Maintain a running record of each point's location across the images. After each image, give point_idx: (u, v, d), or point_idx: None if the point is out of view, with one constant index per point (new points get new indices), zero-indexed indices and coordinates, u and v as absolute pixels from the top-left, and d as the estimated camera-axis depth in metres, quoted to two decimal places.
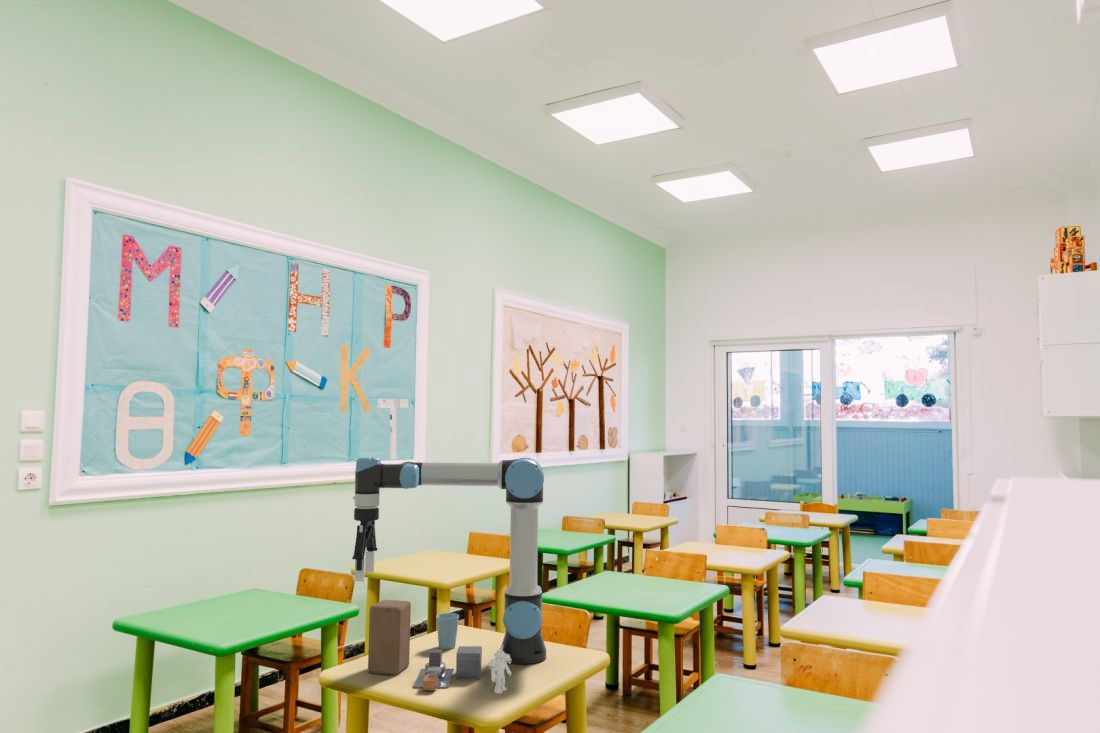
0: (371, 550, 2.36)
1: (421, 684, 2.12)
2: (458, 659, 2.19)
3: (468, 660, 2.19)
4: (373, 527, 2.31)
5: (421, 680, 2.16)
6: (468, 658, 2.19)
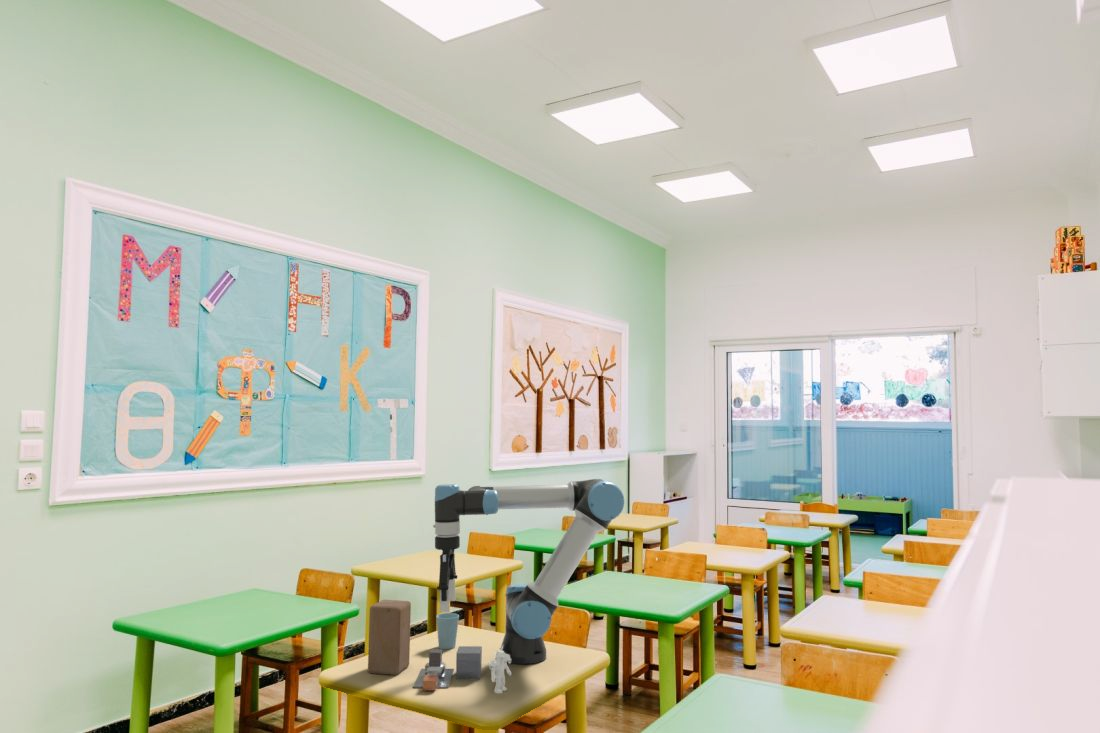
0: (451, 578, 2.32)
1: (421, 684, 2.12)
2: (458, 659, 2.19)
3: (468, 660, 2.19)
4: (454, 555, 2.27)
5: (421, 680, 2.16)
6: (468, 658, 2.19)
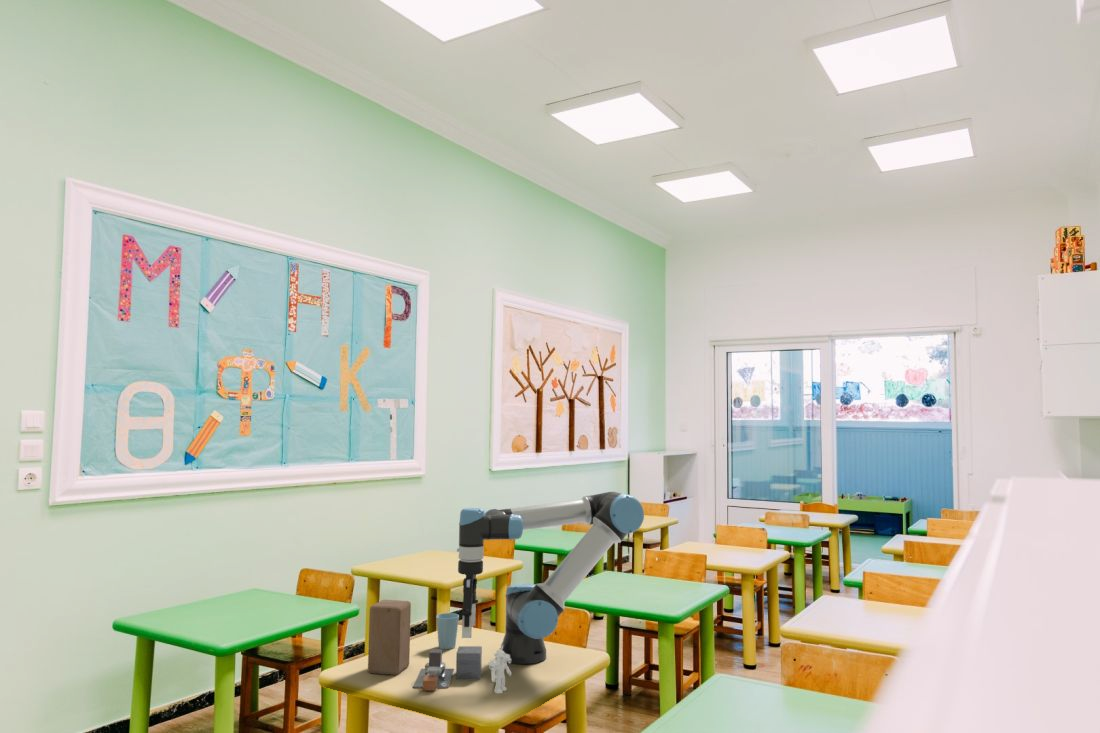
0: (472, 602, 2.30)
1: (421, 684, 2.12)
2: (458, 659, 2.19)
3: (468, 660, 2.19)
4: (476, 580, 2.26)
5: (421, 680, 2.16)
6: (468, 658, 2.19)
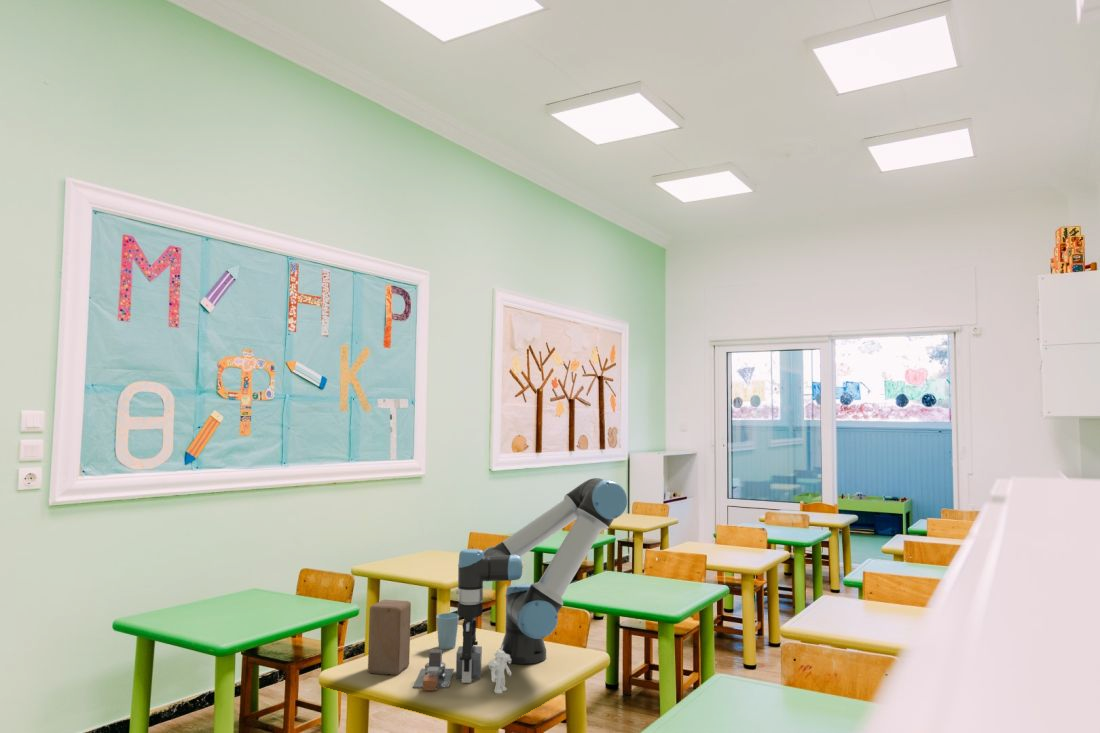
0: (472, 644, 2.29)
1: (421, 684, 2.12)
2: (458, 659, 2.19)
3: None
4: (476, 622, 2.25)
5: (421, 680, 2.16)
6: None
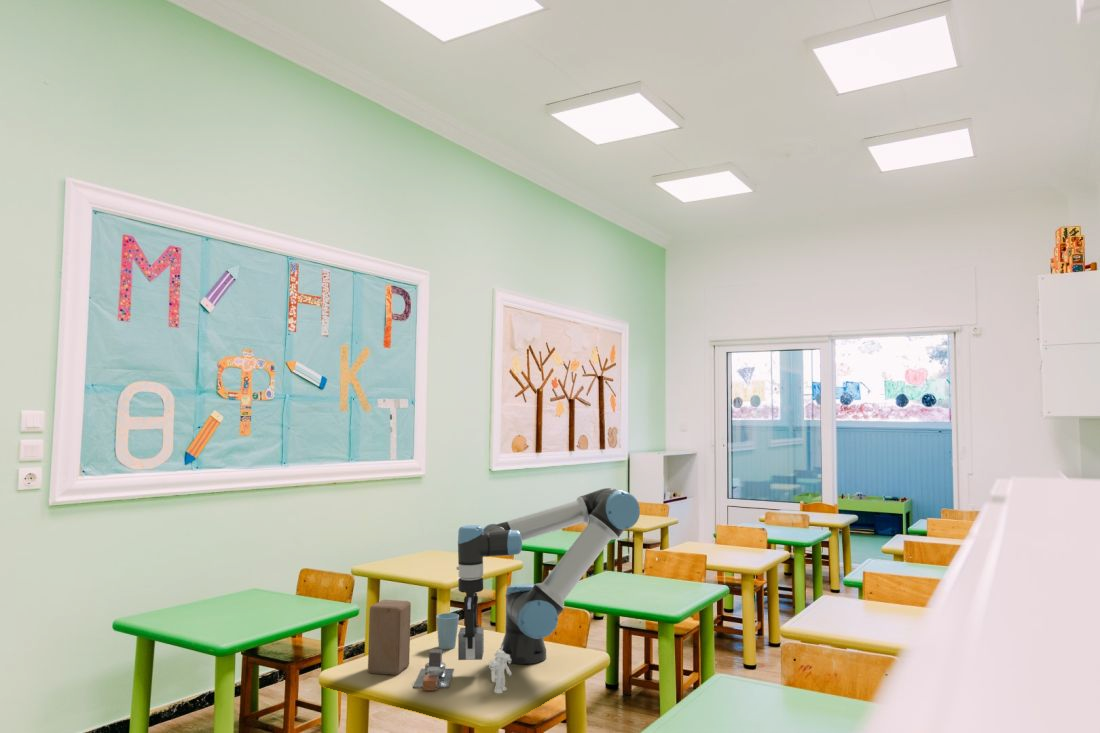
0: (473, 627, 2.27)
1: (421, 684, 2.12)
2: (460, 640, 2.19)
3: None
4: (477, 598, 2.25)
5: (421, 680, 2.16)
6: None
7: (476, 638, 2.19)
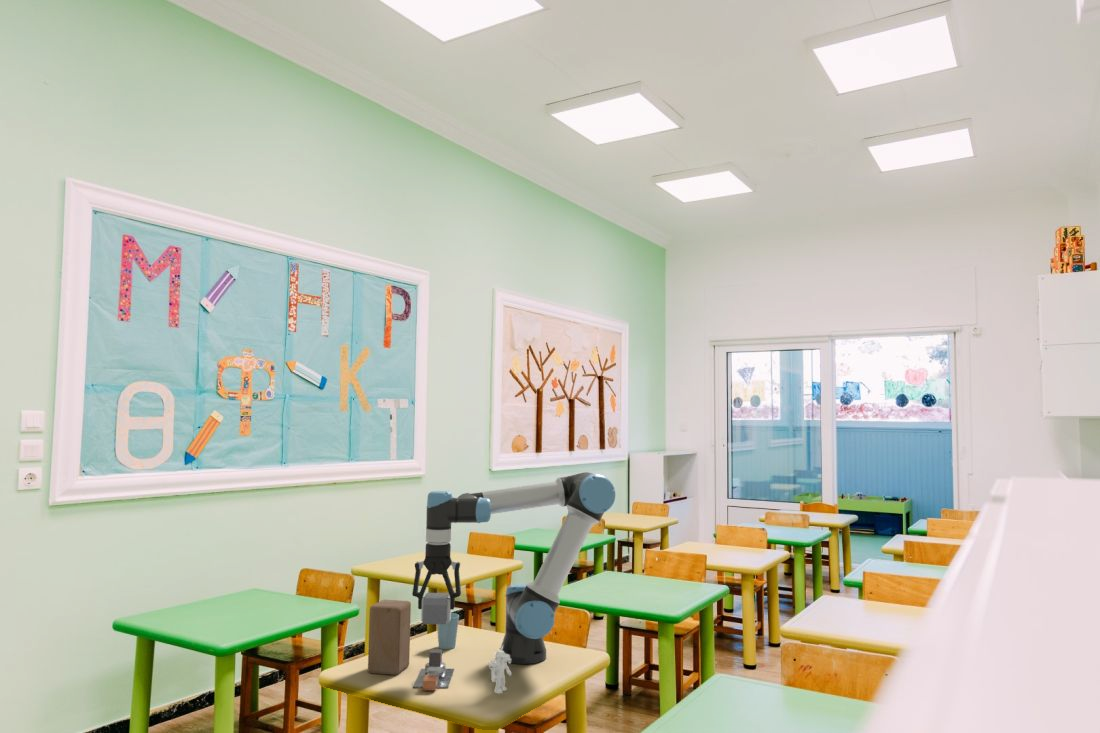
0: (450, 596, 2.22)
1: (421, 684, 2.12)
2: None
3: None
4: (441, 565, 2.21)
5: (421, 680, 2.16)
6: None
7: None
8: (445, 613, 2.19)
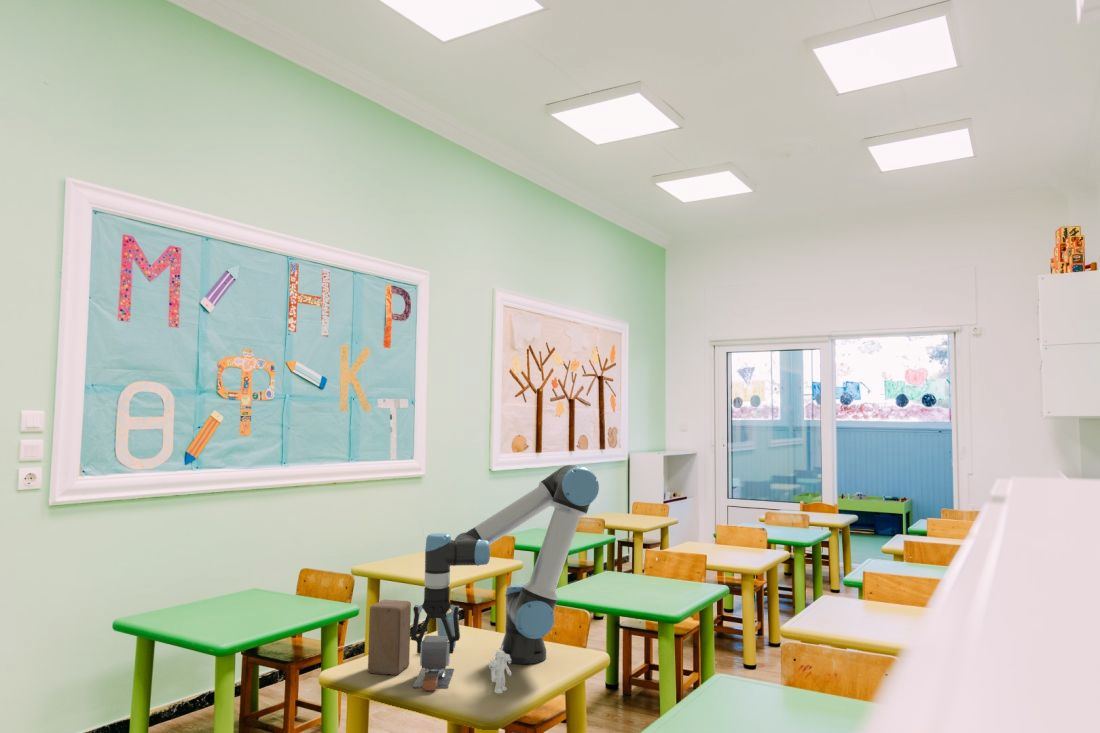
0: (449, 640, 2.21)
1: (421, 684, 2.12)
2: None
3: None
4: (440, 609, 2.20)
5: (421, 680, 2.16)
6: None
7: None
8: (444, 657, 2.18)
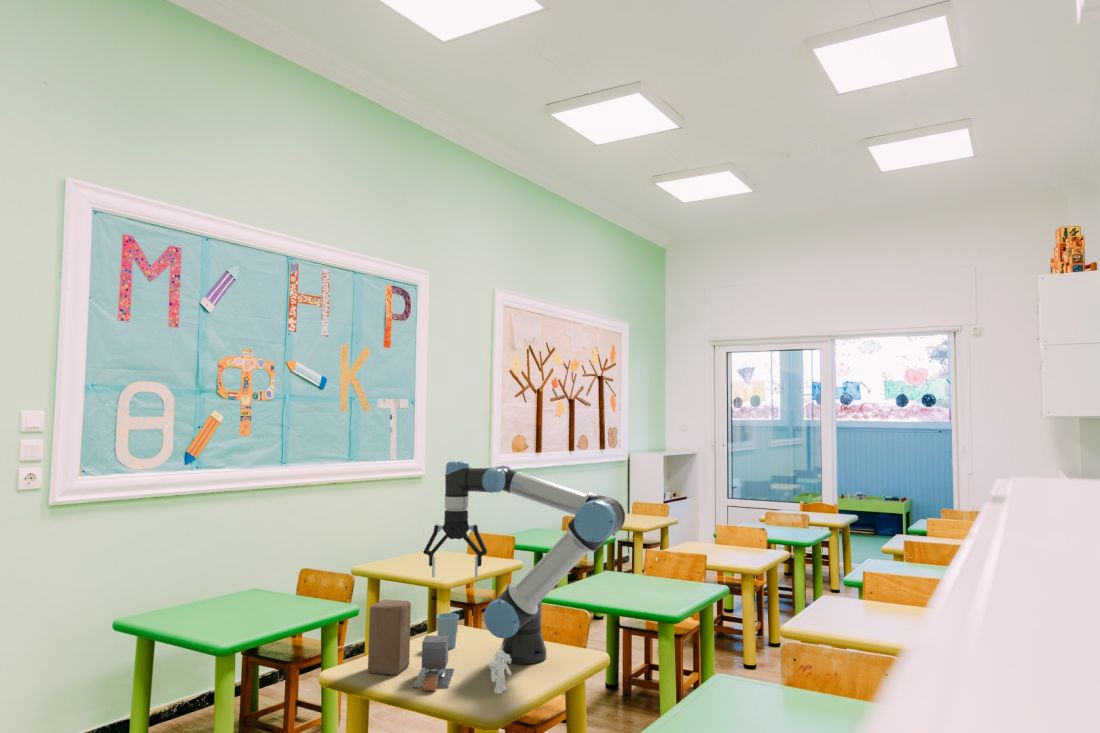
0: (477, 555, 2.36)
1: (421, 684, 2.12)
2: None
3: None
4: (460, 530, 2.35)
5: (421, 680, 2.16)
6: None
7: None
8: (444, 657, 2.18)
